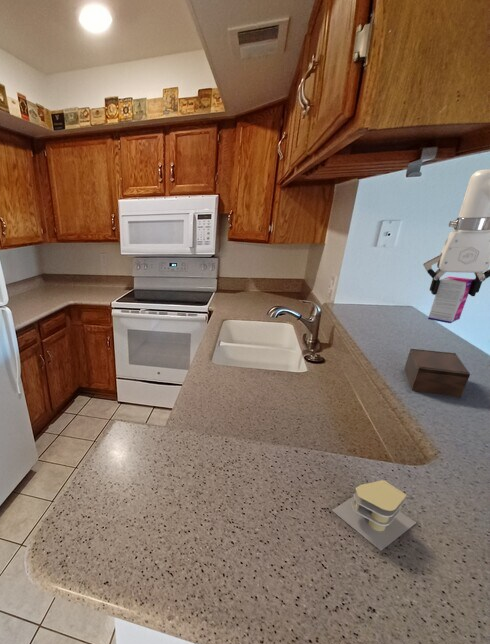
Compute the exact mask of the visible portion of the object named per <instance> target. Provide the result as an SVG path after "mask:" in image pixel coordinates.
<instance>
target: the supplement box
mask: <svg viewBox="0 0 490 644" xmlns="http://www.w3.org/2000/svg"><path fill="white" fill-rule="evenodd" d="M474 279H475V278H466V277H456V276H447V277H444V278H440V279H439V280H440V284H439V288H438V291H437V294H435V295H434V299H433V302H432V305H431V308H430V312H429V313H428V317H427V320H430V321H434V322H435V321H436V322H441V323H446V324H452V323H454V322H456V321H458V320H460V319H461V316H462V313H463V311H464V307H465V305H466V302H467V299H468V296H469V291H470V288H471V286H472V283H473V280H474Z"/></svg>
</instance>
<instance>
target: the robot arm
mask: <svg viewBox="0 0 490 644" xmlns="http://www.w3.org/2000/svg"><path fill="white" fill-rule="evenodd" d="M459 210H460V211H459V214H458V217H457V218H456V219H455V220H450V221H449V223H448V227H449V228H451V227H452V228H453V229H454V230H451V231H450V233H449V234H448V236H447V238H446V240H445V242H444V244H443V247H442V248H441V252H440V254H439V255H437V256H435V257H434V258H432V259H430V260H428V261H426V262H424V263H423V264H422V266H423V267H424V269H425V271H426V273H427V274H428V275H429V276H430V277H431V278H432V279H431V282H430V287H429V292H430V293H431V294H432V296H435V295H436V294H437V291H438V288H439V284H440V280H441V277H442V276H443V275H445V273H473V274H474V275H475V278H473V279H474V280H473V283H472V286H471V288H470V291H469V294H468V296H469V295H470V296H471V297H476V294H478V293H479V292H480V289H481V286H482V284H483V282H485V281H486V279H488V278H490V168H484V169H479V170H477V171H474V172H473V174H472V175H470V178H469V180H468V183H467V187H466V190H465V194H464V197H463V200H462V203H461V206H460V209H459ZM435 264H436V266H437V268H438V269H437V270H436V271H435V270H434V269H433V268H432V266H433V265H435Z"/></svg>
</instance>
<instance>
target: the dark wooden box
mask: <svg viewBox="0 0 490 644" xmlns="http://www.w3.org/2000/svg"><path fill="white" fill-rule="evenodd" d="M403 370H404V374H405V377H406V378H407V381H408V384H409V387H410V389H411V391H414V392H421V393H428V394H434V395H441V396H448V397H456V398H461V397H462V395H463V393H464V391H465V388H466V386H467V383H468V381H469V378H470V376H471V373H470V371H469V370H468V369H467V367H466V366H465V365H464V363H463V362H462V360H461V359H460V357H459V356H458V355H457V353H456V352H445V351H439V350H437V351H436V350H429V349H428V350H427V349H417V348H410V349H409V353H408V355H407V359H406V361H405V366H404V369H403Z"/></svg>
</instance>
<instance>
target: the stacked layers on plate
mask: <svg viewBox="0 0 490 644" xmlns="http://www.w3.org/2000/svg"><path fill="white" fill-rule="evenodd" d="M406 497H407V494H406V493H405V492H404V491H402V490H400V489H398V488H397V487H395V486H394V485H392V484H391V483H389V482H387V481H386V480H384V479H381V480H377V481H372V482H367V483H363V484H359V485H358V486H357V487H356V486H355V492H353V496H351V497H350V498H349V499H347V500H345V501H344V502H342V503H341V504H338V505H337V506H336V507H334V508H333V509H331V511H332V513H334V514H335V515H336V516H338V517H339V518H340V519H341V520H342V521H343V522H345V523H346V524H347V525H349V526H350V527H351V528H352V529H353V530H355V531H356V532H357V533H359V534H360V535H361V536H362V537H364V539H366V540H367V542H369V543H371V544H372V545H373V546H375V548H377V549H378V550H379V551H383V550H385V548H387V547H388V546H389V545H390V544H392V543H393V542H394V541H396V540H397V539H398V538H400V537H401V536H402V535H403V534H404V533H406V532H407V531H408V530H410V529H411V528H412V527H414V526H415V525H416V524H417V522H416V521H415V520H413V518H411V517H409V516H408V515H406V514H404V513H403V512H402V511H401V510H402V508H401V507H402V505H403V504H404V503H405V498H406Z"/></svg>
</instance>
